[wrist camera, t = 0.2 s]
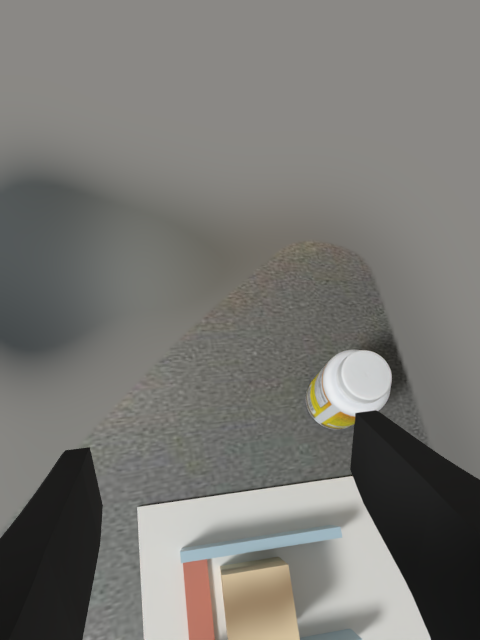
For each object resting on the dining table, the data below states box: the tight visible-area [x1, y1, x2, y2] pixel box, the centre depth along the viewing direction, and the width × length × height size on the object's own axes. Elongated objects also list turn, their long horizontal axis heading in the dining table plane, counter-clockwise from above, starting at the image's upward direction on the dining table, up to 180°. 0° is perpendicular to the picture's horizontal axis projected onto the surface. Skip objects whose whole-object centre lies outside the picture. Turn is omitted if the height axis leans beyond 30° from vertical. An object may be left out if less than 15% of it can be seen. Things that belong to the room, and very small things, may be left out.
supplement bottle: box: [306, 350, 392, 429], centre depth 40 cm, size 6×6×10 cm
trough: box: [180, 525, 362, 640], centre depth 37 cm, size 9×13×3 cm, turn 98°
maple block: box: [220, 557, 300, 640], centre depth 35 cm, size 5×5×5 cm
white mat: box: [137, 476, 431, 640], centre depth 38 cm, size 18×24×1 cm
